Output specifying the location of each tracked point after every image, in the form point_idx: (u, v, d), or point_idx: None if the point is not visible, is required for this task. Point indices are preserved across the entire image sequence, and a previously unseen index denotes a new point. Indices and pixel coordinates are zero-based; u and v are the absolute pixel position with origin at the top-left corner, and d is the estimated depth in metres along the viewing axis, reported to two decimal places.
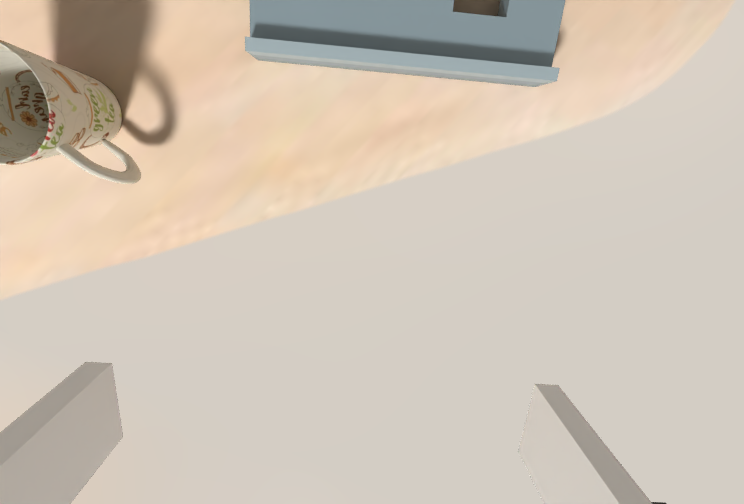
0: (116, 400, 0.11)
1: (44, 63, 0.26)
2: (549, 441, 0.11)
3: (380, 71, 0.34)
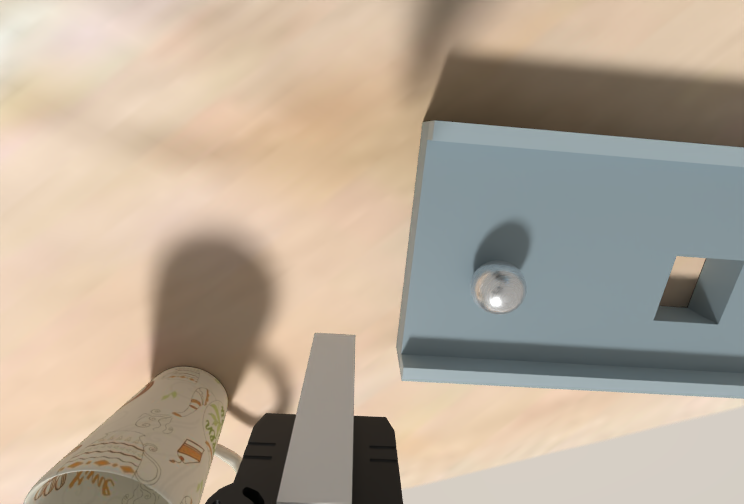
0: None
1: (171, 454, 0.20)
2: None
3: None
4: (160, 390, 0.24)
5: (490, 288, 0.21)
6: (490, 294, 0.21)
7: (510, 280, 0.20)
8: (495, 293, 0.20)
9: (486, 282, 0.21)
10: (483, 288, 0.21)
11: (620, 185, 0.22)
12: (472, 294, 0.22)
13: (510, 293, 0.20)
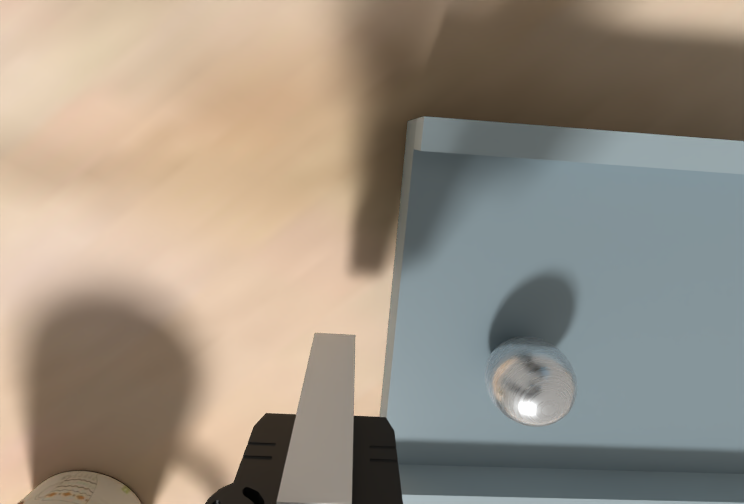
0: None
1: None
2: None
3: None
4: None
5: (520, 391, 0.13)
6: (520, 401, 0.13)
7: (553, 378, 0.12)
8: (529, 400, 0.12)
9: (513, 380, 0.13)
10: (508, 389, 0.13)
11: (719, 216, 0.14)
12: (489, 392, 0.14)
13: (554, 401, 0.12)
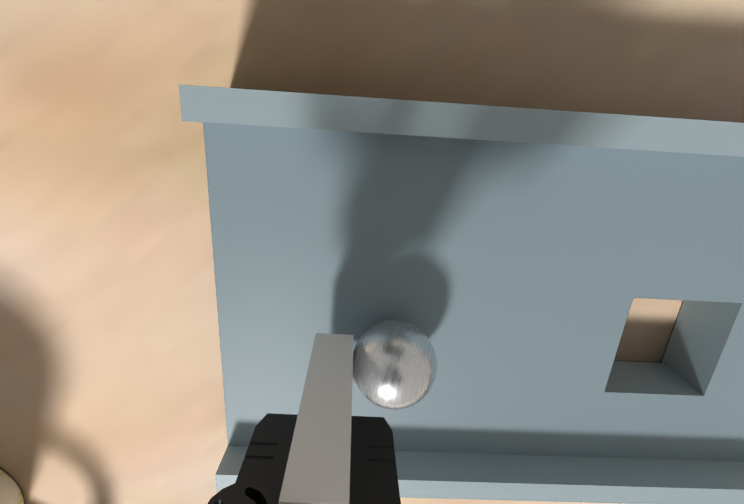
0: None
1: None
2: None
3: None
4: None
5: (422, 380, 0.12)
6: (423, 388, 0.13)
7: (431, 349, 0.13)
8: (428, 381, 0.13)
9: (414, 375, 0.12)
10: (412, 386, 0.12)
11: (533, 190, 0.13)
12: (384, 401, 0.13)
13: None
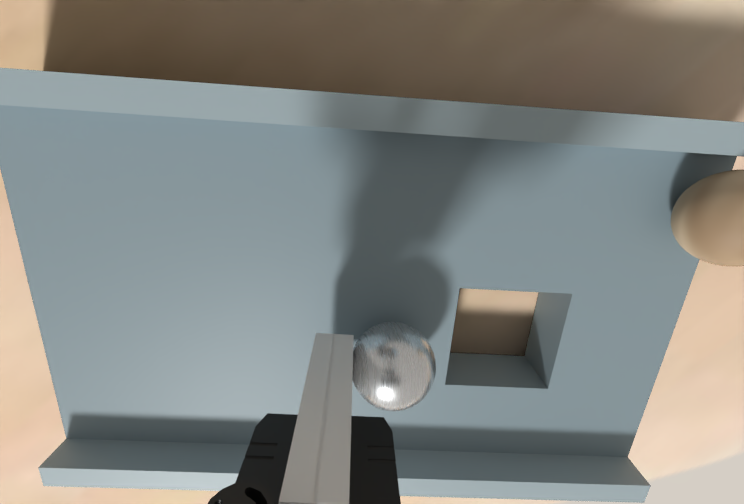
0: None
1: None
2: None
3: None
4: None
5: None
6: None
7: (361, 346, 0.13)
8: None
9: None
10: None
11: (339, 177, 0.13)
12: None
13: None
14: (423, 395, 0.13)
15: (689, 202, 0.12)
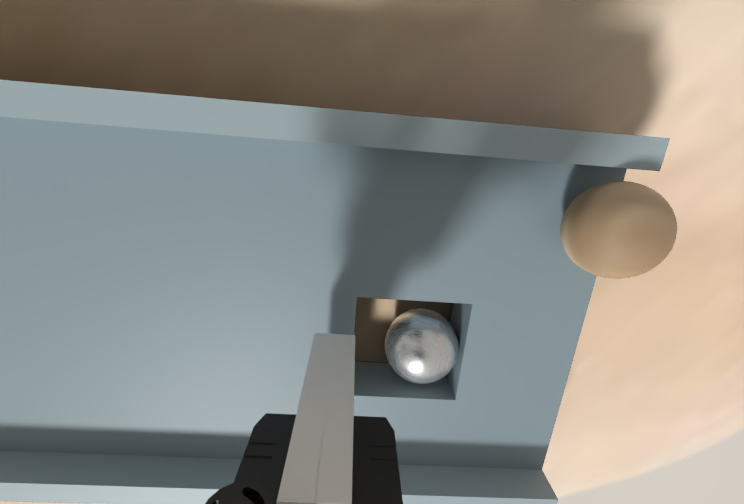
0: None
1: None
2: None
3: None
4: None
5: None
6: None
7: None
8: None
9: None
10: None
11: (224, 182, 0.13)
12: None
13: None
14: (386, 353, 0.16)
15: (570, 214, 0.12)
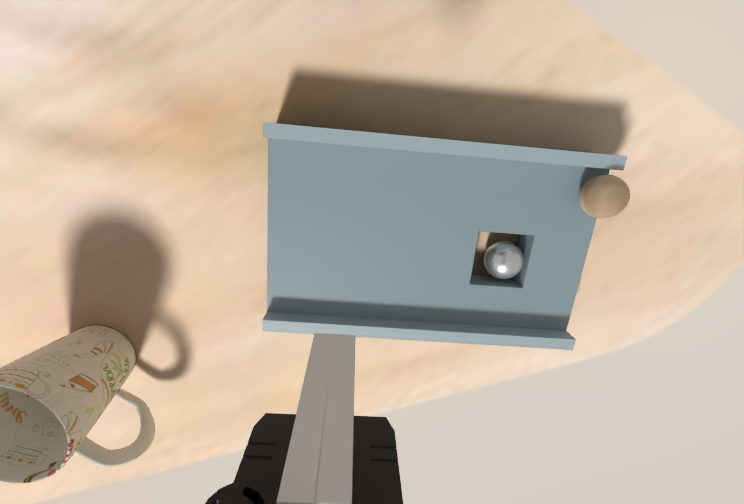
0: None
1: (63, 381, 0.26)
2: None
3: None
4: (68, 339, 0.30)
5: None
6: None
7: None
8: None
9: None
10: None
11: (424, 174, 0.28)
12: None
13: None
14: (484, 263, 0.31)
15: (584, 189, 0.27)
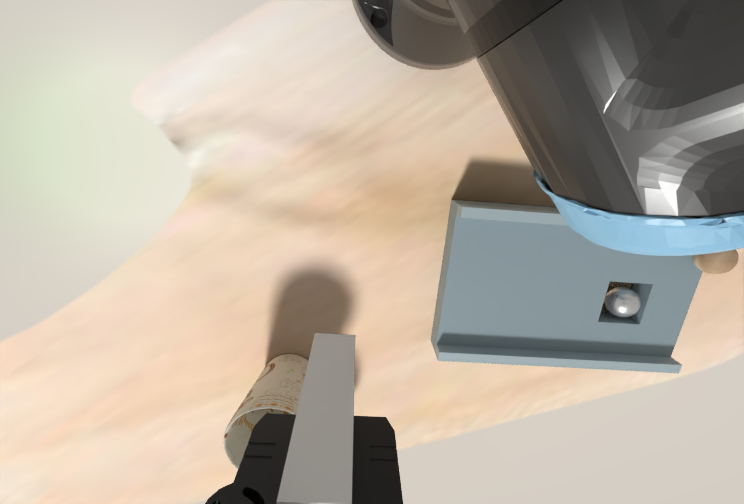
0: None
1: None
2: None
3: None
4: (283, 368, 0.38)
5: None
6: None
7: None
8: None
9: None
10: None
11: (572, 239, 0.36)
12: None
13: None
14: (606, 304, 0.39)
15: None
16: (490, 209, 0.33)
